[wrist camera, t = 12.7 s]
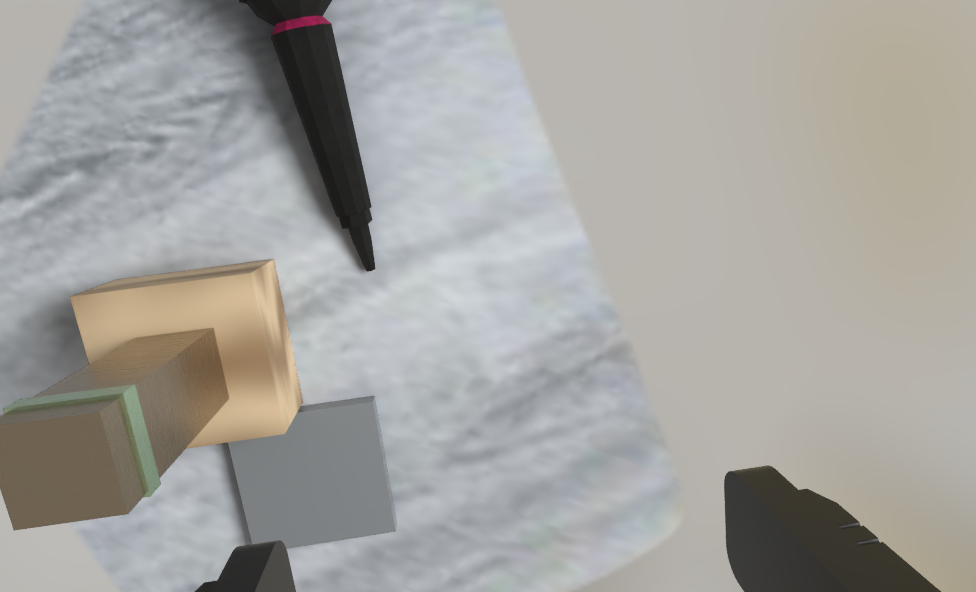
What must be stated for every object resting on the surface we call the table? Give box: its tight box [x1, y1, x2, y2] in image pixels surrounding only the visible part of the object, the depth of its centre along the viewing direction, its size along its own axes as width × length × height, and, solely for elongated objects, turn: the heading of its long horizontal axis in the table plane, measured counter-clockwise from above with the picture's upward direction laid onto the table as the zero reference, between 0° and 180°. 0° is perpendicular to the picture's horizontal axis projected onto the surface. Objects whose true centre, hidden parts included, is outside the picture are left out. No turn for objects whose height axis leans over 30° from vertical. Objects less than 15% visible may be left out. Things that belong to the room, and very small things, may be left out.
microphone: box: [239, 0, 375, 271], centre depth 36 cm, size 6×6×20 cm
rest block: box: [70, 259, 303, 448], centre depth 37 cm, size 10×10×5 cm
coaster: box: [228, 396, 397, 548], centre depth 42 cm, size 10×10×1 cm
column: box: [0, 328, 229, 530], centre depth 29 cm, size 5×5×12 cm
